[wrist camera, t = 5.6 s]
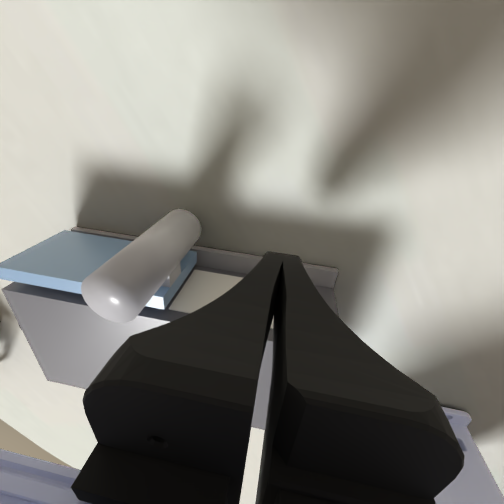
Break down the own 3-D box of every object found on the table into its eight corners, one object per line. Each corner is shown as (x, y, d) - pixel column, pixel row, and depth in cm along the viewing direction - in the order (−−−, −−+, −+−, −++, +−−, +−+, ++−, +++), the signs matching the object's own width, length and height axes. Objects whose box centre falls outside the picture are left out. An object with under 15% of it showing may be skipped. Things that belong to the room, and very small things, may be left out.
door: (203, 209, 13) (134, 280, 8) (203, 263, 15) (147, 351, 9) (51, 187, 14) (-106, 237, 9) (67, 240, 16) (-57, 310, 10)
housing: (337, 268, 14) (353, 336, 10) (308, 362, 18) (311, 440, 14) (58, 223, 16) (-32, 265, 12) (87, 319, 20) (29, 376, 16)
